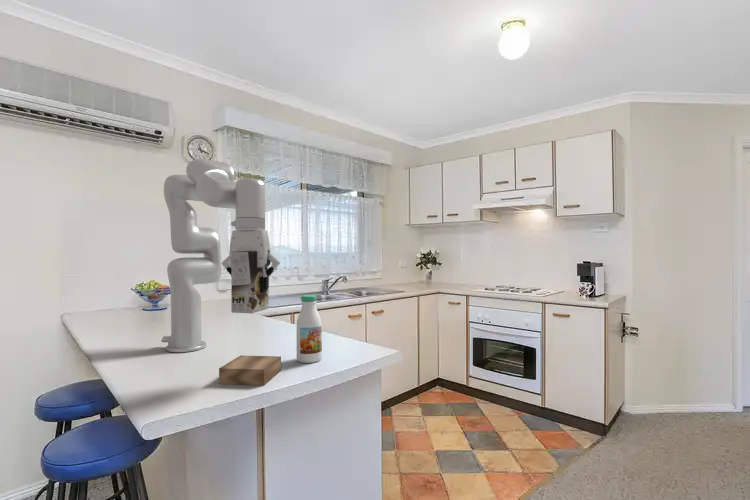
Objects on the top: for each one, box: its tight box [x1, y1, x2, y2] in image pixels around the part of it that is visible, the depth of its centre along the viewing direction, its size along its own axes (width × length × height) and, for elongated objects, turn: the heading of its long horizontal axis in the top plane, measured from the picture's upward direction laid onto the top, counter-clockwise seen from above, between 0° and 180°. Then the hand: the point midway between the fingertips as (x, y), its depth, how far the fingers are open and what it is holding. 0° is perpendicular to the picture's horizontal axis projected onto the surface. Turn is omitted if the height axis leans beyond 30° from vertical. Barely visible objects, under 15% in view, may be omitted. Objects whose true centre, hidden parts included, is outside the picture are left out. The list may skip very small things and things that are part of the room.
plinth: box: [218, 354, 282, 386], centre depth 104 cm, size 12×12×4 cm
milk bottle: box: [295, 294, 323, 364], centre depth 120 cm, size 8×8×20 cm
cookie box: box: [230, 251, 270, 314], centre depth 104 cm, size 9×6×16 cm
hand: (250, 291), depth 104 cm, fingers closed on cookie box, 6 cm apart
